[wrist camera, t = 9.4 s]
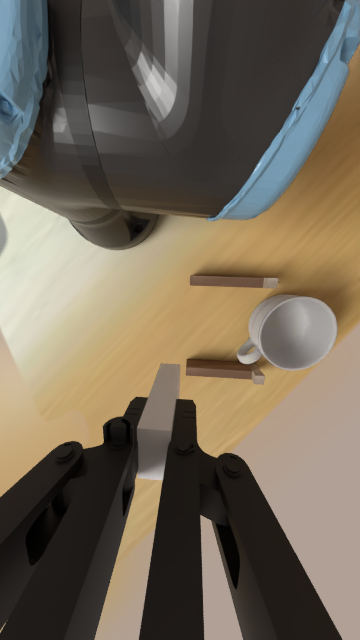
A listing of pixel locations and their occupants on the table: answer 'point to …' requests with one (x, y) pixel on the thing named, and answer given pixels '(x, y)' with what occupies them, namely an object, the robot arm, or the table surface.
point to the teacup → (290, 332)
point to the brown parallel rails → (226, 367)
